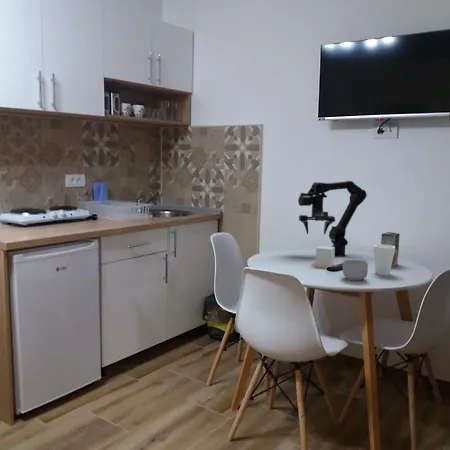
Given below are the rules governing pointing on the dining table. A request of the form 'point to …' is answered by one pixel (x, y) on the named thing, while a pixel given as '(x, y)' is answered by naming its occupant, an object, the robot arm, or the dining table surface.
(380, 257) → the foam cup
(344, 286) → the dining table surface
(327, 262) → the white block
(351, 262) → the teacup
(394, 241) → the coffee box
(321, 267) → the plate
